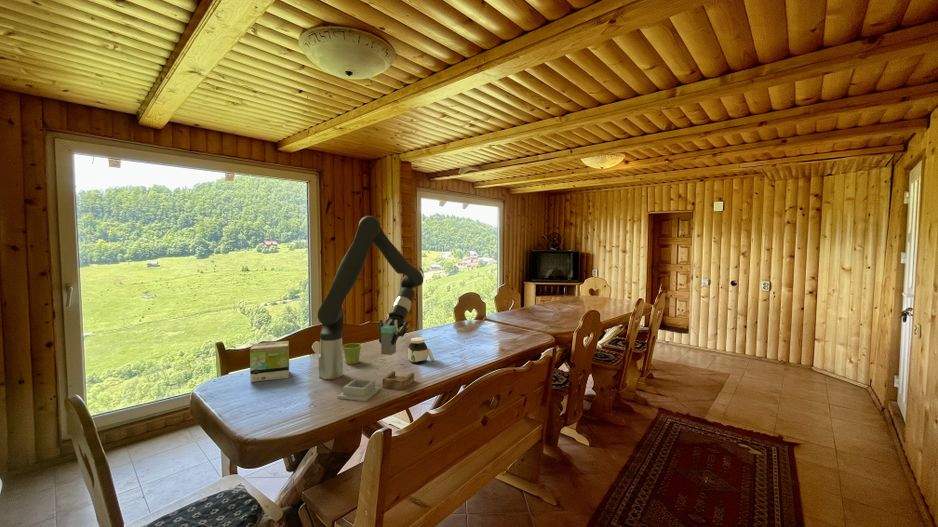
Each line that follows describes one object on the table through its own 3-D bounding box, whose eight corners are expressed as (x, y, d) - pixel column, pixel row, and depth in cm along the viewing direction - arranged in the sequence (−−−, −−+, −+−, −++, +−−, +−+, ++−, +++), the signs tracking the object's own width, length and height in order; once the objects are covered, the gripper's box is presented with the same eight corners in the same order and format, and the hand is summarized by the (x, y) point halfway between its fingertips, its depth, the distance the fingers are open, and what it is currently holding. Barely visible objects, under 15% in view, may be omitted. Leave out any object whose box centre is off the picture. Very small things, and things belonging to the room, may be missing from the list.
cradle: (382, 387, 156) (382, 379, 156) (392, 378, 166) (392, 371, 166) (405, 389, 154) (405, 381, 154) (414, 380, 164) (414, 372, 163)
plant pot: (358, 365, 183) (358, 348, 183) (339, 365, 183) (339, 348, 183) (364, 359, 193) (364, 343, 192) (346, 359, 193) (345, 342, 192)
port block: (337, 398, 145) (337, 388, 145) (353, 386, 157) (353, 377, 157) (365, 401, 143) (365, 391, 142) (380, 389, 154) (380, 379, 154)
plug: (380, 354, 155) (380, 327, 154) (385, 350, 160) (386, 325, 159) (391, 355, 154) (391, 328, 153) (396, 351, 159) (396, 326, 158)
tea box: (250, 383, 161) (249, 349, 160) (252, 375, 170) (251, 343, 169) (289, 378, 167) (288, 345, 166) (289, 371, 176) (289, 339, 175)
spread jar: (405, 361, 191) (405, 338, 190) (424, 356, 198) (423, 334, 198) (419, 366, 182) (419, 343, 181) (438, 361, 190) (438, 338, 189)
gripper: (382, 303, 165) (367, 336, 154) (412, 305, 161) (399, 340, 150) (389, 313, 170) (374, 346, 159) (417, 315, 166) (405, 349, 155)
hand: (386, 343), depth 155 cm, fingers closed on plug, 4 cm apart
